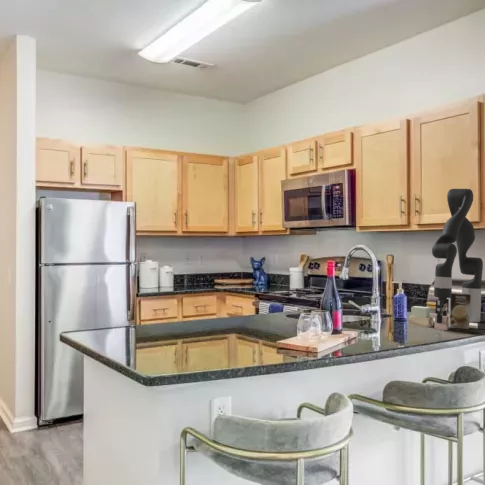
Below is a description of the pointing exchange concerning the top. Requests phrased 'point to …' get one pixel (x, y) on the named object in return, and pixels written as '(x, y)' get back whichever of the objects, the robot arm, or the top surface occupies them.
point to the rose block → (444, 324)
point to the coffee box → (459, 310)
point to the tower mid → (420, 311)
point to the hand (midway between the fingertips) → (441, 322)
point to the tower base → (421, 321)
